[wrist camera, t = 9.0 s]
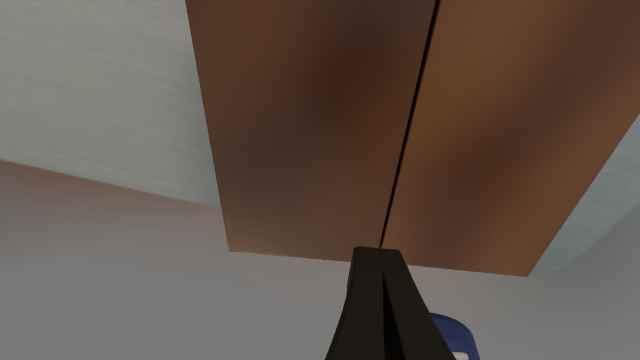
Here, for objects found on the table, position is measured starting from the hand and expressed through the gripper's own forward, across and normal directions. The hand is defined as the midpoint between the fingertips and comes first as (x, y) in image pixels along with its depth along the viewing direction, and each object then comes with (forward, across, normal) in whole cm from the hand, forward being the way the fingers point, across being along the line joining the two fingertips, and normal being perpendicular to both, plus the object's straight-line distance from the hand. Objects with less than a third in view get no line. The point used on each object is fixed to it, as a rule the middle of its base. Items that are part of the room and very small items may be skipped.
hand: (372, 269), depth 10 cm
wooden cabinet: (+10, -1, -2) cm, 11 cm away
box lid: (+4, -4, -2) cm, 6 cm away
